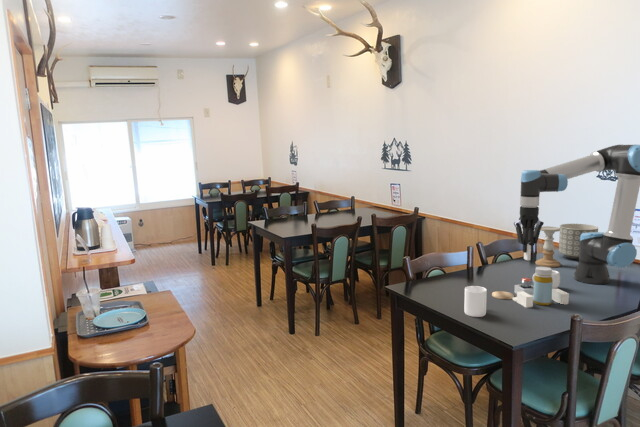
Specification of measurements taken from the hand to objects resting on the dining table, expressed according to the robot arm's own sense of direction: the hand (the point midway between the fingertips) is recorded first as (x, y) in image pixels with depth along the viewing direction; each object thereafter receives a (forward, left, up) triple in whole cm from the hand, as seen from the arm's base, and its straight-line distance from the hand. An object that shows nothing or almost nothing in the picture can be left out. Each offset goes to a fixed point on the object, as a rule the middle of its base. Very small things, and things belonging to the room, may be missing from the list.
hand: (527, 259), depth 214 cm
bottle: (0, +12, -16) cm, 20 cm away
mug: (-14, -7, -16) cm, 23 cm away
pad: (+11, 0, -16) cm, 19 cm away
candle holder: (-39, -43, -16) cm, 60 cm away
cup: (+31, +16, -16) cm, 38 cm away
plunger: (0, 0, -13) cm, 13 cm away
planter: (-63, -52, -16) cm, 83 cm away
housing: (0, +6, -16) cm, 17 cm away
